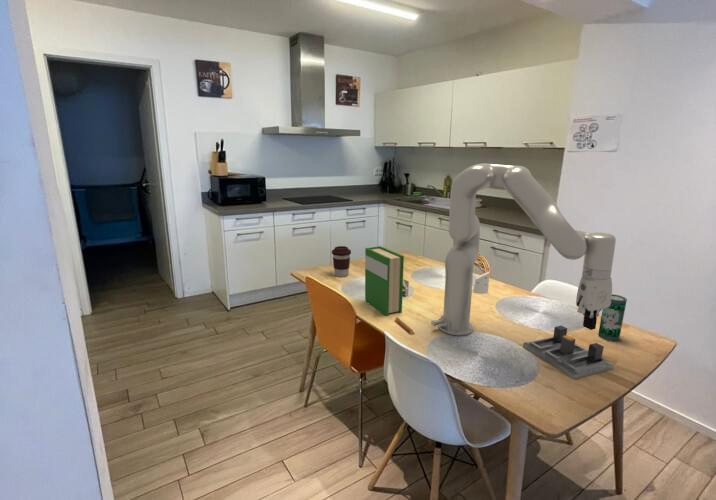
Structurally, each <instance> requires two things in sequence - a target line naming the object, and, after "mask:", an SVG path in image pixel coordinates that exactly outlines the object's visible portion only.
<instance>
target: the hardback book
mask: <svg viewBox="0 0 716 500" xmlns="http://www.w3.org/2000/svg"><path fill="white" fill-rule="evenodd" d="M364 252H365V254H364V255H365V257H364V258H365V260H364V262H365V263H364V265H365V266H364V267H365V269H364V271H365V272H364V276H365V277H364V279H365V281H364V284H365V285H364V302H365V301H366V304H368V303H369V304H368V305H370V306H371V307H373V308H374V309H375V310H377V311H378V312H380V313H382V314H383V315H385V317H389V314H392V313H396V312H398V313H399V314H402V313H403V295H402V294H403V279H404V265H405V264H404V262H405V261H404V260H405V259H404V258H405V256H404V255H402V254H400V253H398V252H395V251H393V250H391V249H389V248H386V247H383V246H381V245H379V246H373V247H365V249H364Z"/></svg>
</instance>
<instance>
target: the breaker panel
mask: <svg viewBox="0 0 716 500" xmlns="http://www.w3.org/2000/svg"><path fill="white" fill-rule="evenodd" d="M567 333H568V327H566V326H563V325H556V326H555V327H554V330H553V336H550V337H546V338H545V337H544V338H541V339H540V338H539V339H535V340H532V341H526V342H523V343H522V344H523V345H522V348H523V349H525V350H527V351H529V353H531V354H532V355H534V356H536V357H538V358H539V359H541V360H542V361H544V362H546V363H548V364H549V365H551V366H553V368H555V369H557V370H559V371H561V373H563V374H565V375H567V376H568V377H570V378H571V379H573V380H577V379H580V378H583V377H588V376H591V375H594V374H599V373H601V372H605V371H609V370H612V369H614V365H615V364H614V363H613V362H611V361H609V360H607V359H605V358H604V357H603V353H604V345H601V344H599V343H598V342H596V343H595V342H594V343H591V344H588V349H587V348H585V347H583V346H581V345H578V344H577V343H575V345H574V351H573V353H571V354H567V355H565V354H563V353H561V352H560V347H561V340H562V337H563V336H566V335H568V334H567Z"/></svg>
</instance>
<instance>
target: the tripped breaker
mask: <svg viewBox="0 0 716 500" xmlns="http://www.w3.org/2000/svg"><path fill="white" fill-rule="evenodd" d="M575 344H576V338H574V337H572V335H571V336H570V335H568V334H567V335H566V336H563V337H562V340H561V347H560V352H561V353H563V354H565V355H567V354H571V353H573V351H574V345H575Z"/></svg>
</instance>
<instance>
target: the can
mask: <svg viewBox="0 0 716 500" xmlns="http://www.w3.org/2000/svg"><path fill="white" fill-rule="evenodd" d="M627 301H628V299H627V298H626V297H625V296H622V295H618V294H614V293H612V297H611V304H610V306H609V307H608V308H604V309H602V310H601V316H600V323H599V329H598V333H597V335H598V337H599V338H601V339H602V340H606V341H609V342H618V341H619V340H620V337H621V332H622V327H623V321H624V316H625V310H626V307H627Z"/></svg>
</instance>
